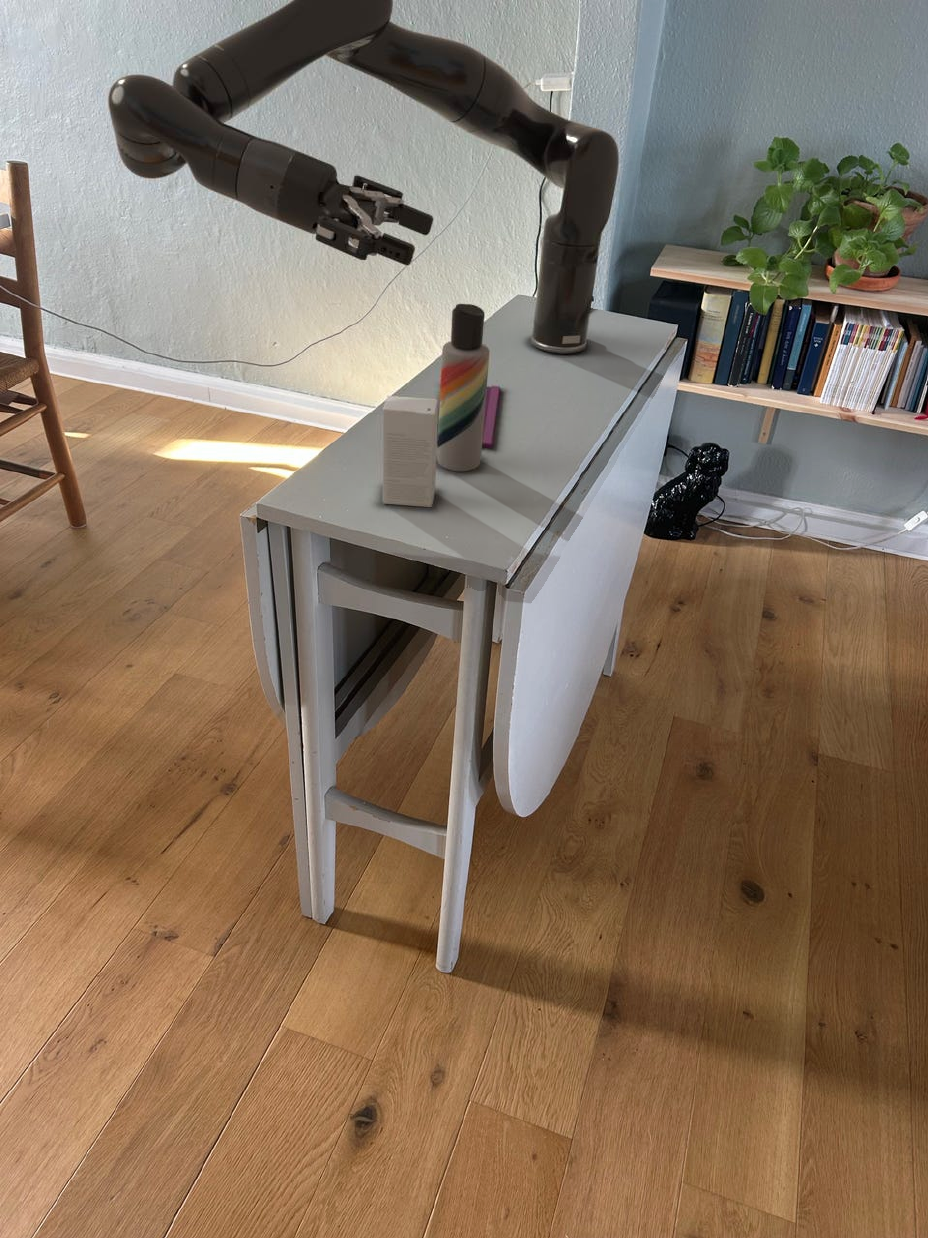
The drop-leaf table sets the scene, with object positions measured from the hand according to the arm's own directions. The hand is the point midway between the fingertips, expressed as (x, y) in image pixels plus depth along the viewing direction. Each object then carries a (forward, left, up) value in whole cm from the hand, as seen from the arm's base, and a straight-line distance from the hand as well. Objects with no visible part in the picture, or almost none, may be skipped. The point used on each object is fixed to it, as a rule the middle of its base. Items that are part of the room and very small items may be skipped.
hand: (422, 240), depth 101 cm
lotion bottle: (+1, +6, -27) cm, 27 cm away
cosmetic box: (+12, +1, -27) cm, 29 cm away
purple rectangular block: (-14, +6, -26) cm, 30 cm away
